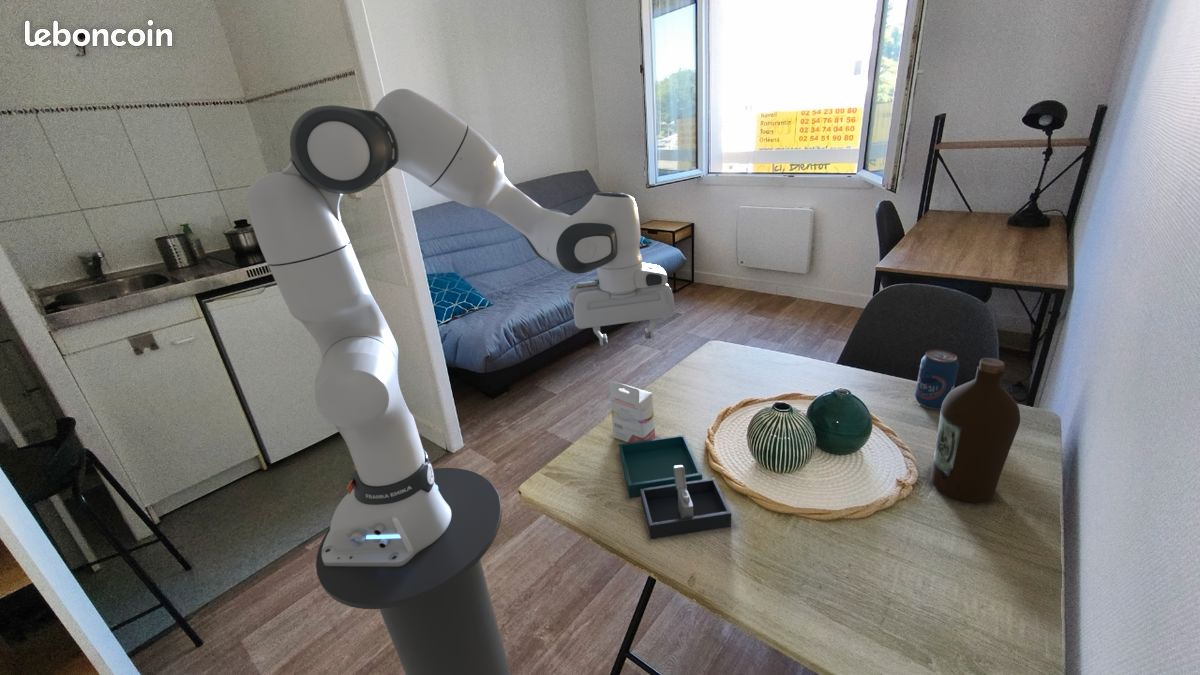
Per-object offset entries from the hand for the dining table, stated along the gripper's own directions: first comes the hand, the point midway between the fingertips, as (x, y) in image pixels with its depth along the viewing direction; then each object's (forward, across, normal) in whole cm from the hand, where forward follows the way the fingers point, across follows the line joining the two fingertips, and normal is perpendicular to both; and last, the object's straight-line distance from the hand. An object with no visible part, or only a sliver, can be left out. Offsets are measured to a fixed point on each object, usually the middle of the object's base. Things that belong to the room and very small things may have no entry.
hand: (626, 340), depth 103 cm
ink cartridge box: (+24, 0, 0) cm, 24 cm away
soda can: (+25, +68, -3) cm, 72 cm away
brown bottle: (+24, +55, -28) cm, 66 cm away
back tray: (+24, +3, -13) cm, 27 cm away
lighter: (+24, +5, -25) cm, 35 cm away
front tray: (+24, +5, -25) cm, 35 cm away
